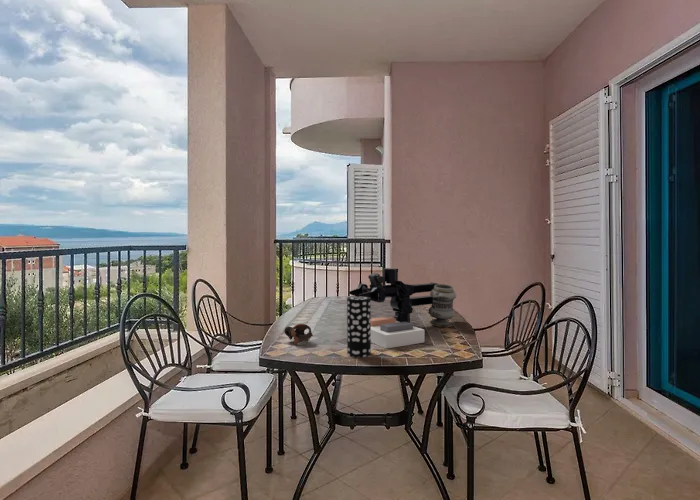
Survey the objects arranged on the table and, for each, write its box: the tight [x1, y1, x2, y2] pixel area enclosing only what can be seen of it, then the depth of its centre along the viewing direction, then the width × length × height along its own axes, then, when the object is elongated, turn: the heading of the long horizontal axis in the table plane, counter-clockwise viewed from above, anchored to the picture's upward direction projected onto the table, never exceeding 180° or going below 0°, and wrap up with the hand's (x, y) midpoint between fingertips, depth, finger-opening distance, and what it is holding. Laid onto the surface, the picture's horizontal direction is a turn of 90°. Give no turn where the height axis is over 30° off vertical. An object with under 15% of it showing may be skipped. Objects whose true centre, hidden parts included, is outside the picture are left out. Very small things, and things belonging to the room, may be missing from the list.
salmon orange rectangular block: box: [371, 316, 396, 326], centre depth 179 cm, size 12×5×4 cm, turn 118°
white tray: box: [371, 321, 425, 349], centre depth 174 cm, size 18×24×5 cm
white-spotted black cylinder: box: [346, 295, 372, 358], centre depth 152 cm, size 8×8×20 cm
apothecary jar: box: [427, 283, 457, 328], centre depth 197 cm, size 12×12×18 cm
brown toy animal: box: [284, 323, 314, 346], centre depth 169 cm, size 12×10×8 cm
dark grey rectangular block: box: [380, 322, 414, 333], centre depth 168 cm, size 12×5×4 cm, turn 118°
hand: (354, 294), depth 185 cm, fingers open, 9 cm apart
